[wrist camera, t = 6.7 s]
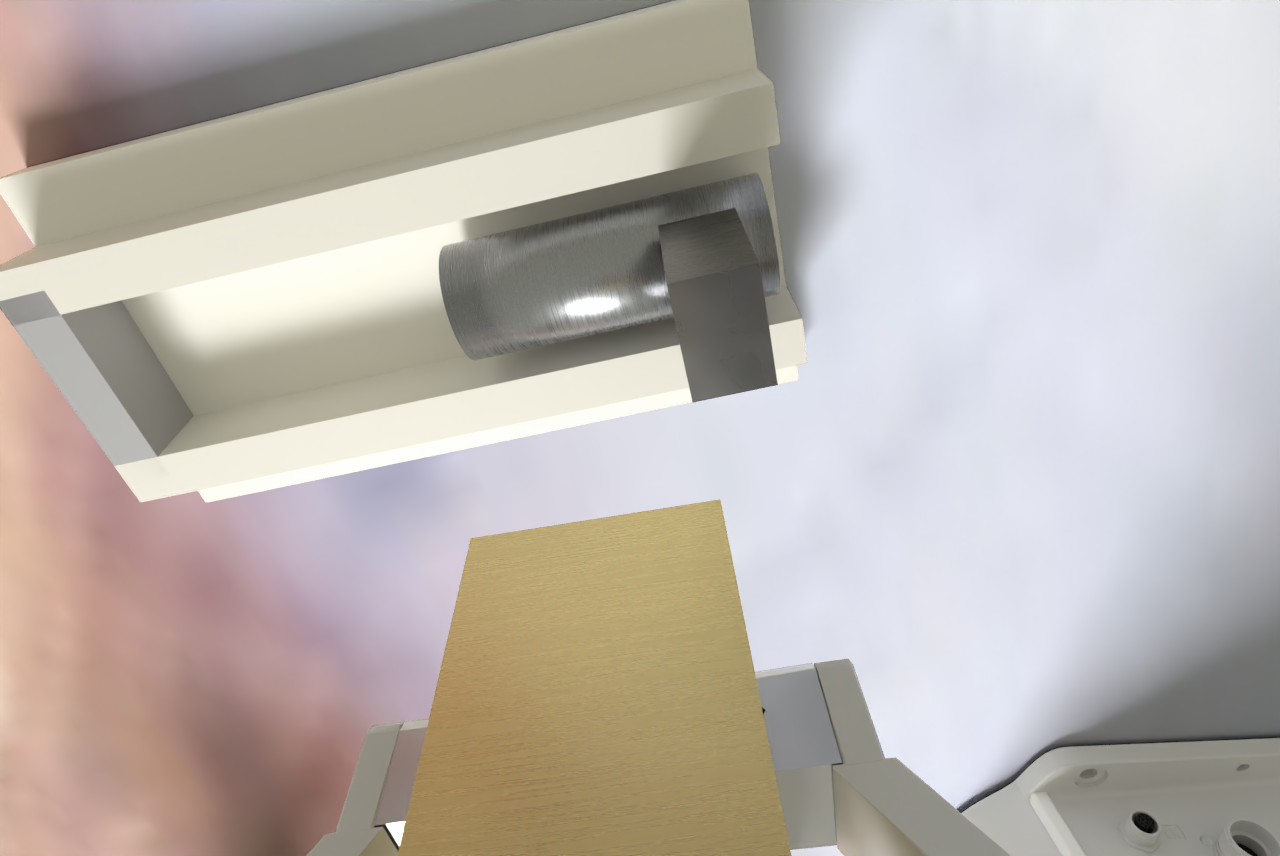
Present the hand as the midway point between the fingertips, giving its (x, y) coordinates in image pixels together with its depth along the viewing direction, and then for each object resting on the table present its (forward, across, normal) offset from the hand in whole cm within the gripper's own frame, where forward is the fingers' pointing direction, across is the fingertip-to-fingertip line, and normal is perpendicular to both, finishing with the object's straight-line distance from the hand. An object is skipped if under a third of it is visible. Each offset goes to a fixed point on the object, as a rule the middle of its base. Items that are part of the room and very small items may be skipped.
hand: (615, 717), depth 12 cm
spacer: (+2, 0, 0) cm, 2 cm away
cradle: (+17, +6, -2) cm, 18 cm away
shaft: (+15, 0, -2) cm, 16 cm away
